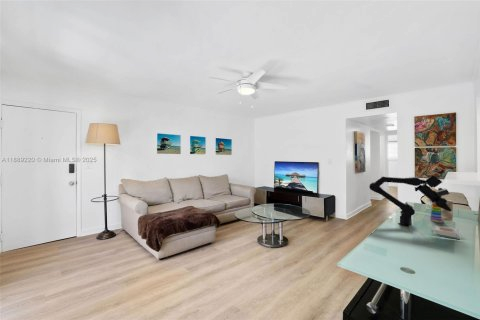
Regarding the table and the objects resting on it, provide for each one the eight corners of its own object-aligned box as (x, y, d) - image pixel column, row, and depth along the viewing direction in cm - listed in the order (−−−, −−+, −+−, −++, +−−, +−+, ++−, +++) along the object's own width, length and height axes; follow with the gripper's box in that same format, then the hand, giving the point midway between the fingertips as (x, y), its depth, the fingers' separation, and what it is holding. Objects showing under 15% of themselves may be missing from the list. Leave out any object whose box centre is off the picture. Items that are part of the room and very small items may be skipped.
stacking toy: (438, 220, 166) (438, 196, 166) (447, 223, 158) (447, 198, 158) (427, 220, 167) (427, 195, 166) (435, 223, 159) (435, 197, 158)
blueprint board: (460, 240, 126) (460, 234, 126) (432, 235, 135) (432, 229, 135) (459, 230, 144) (459, 224, 143) (434, 226, 152) (434, 221, 152)
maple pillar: (443, 220, 143) (443, 200, 142) (441, 218, 146) (441, 199, 146) (452, 221, 140) (452, 201, 140) (450, 219, 144) (450, 200, 144)
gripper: (443, 185, 137) (467, 205, 131) (435, 182, 153) (457, 200, 147) (426, 197, 141) (449, 216, 136) (421, 193, 157) (441, 210, 152)
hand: (449, 210), depth 142 cm, fingers closed on maple pillar, 5 cm apart
